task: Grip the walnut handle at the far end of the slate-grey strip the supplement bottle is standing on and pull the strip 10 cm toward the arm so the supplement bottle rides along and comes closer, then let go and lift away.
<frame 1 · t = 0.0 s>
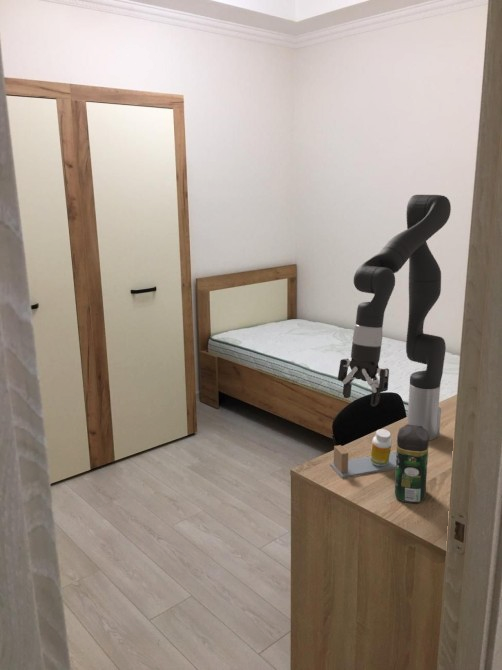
hand: (359, 401, 154), 22 cm above the table, tool pointing down, fingers open, 8 cm apart
supplement bottle: (378, 461, 167), point 1 cm above the table, touching strip
coffee jar: (409, 495, 151), on the table
strip: (377, 454, 166), point 3 cm above the table, slide at 0.0 cm, touching supplement bottle
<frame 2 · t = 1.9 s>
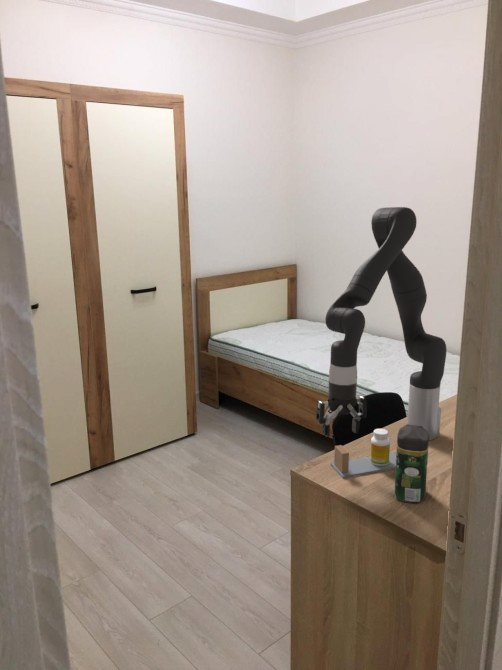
hand: (340, 434, 161), 11 cm above the table, tool pointing down, fingers open, 8 cm apart
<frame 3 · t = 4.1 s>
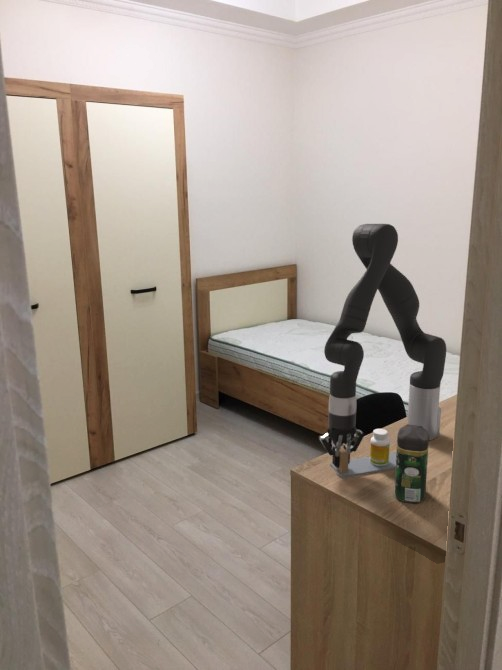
hand: (340, 465, 163), 2 cm above the table, tool pointing down, fingers closed on strip, 2 cm apart
strip: (377, 453, 166), point 3 cm above the table, slide at 0.0 cm, touching supplement bottle, gripper
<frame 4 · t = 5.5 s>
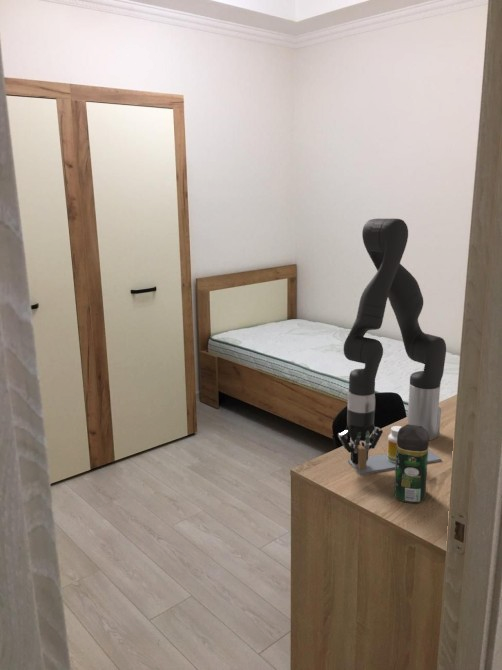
hand: (359, 462, 165), 2 cm above the table, tool pointing down, fingers closed on strip, 2 cm apart
supplement bottle: (396, 459, 168), resting on strip
strip: (395, 451, 167), point 3 cm above the table, slide at 5.7 cm, touching supplement bottle, gripper
everything else where it was.
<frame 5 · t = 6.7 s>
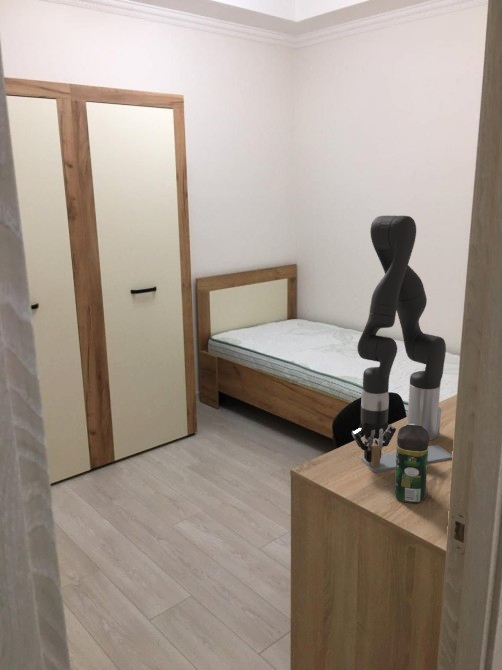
hand: (372, 460, 166), 2 cm above the table, tool pointing down, fingers closed on strip, 2 cm apart
supplement bottle: (409, 457, 169), resting on strip
strip: (408, 448, 169), point 3 cm above the table, slide at 10.0 cm, touching supplement bottle, gripper
everything else where it was.
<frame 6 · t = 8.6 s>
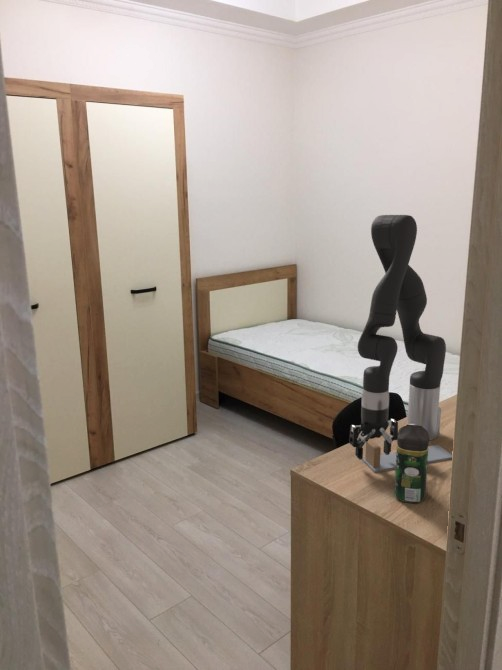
hand: (373, 456, 166), 3 cm above the table, tool pointing down, fingers open, 8 cm apart
strip: (408, 448, 169), point 3 cm above the table, slide at 10.0 cm, touching supplement bottle
everything else where it was.
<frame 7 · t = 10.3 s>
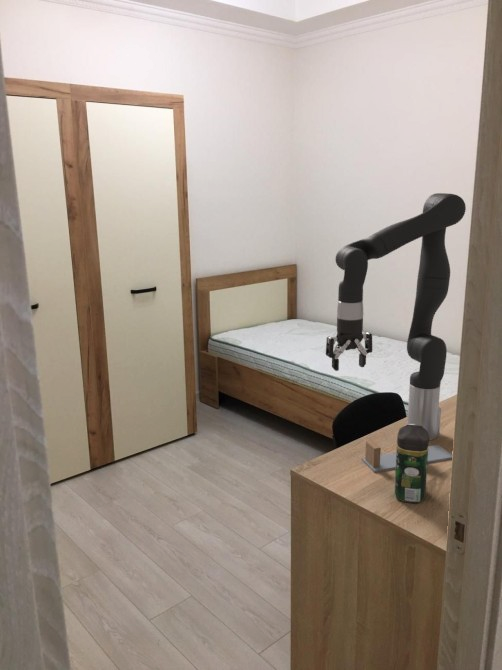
hand: (348, 368, 173), 25 cm above the table, tool pointing down, fingers open, 8 cm apart
nothing on the table moved.
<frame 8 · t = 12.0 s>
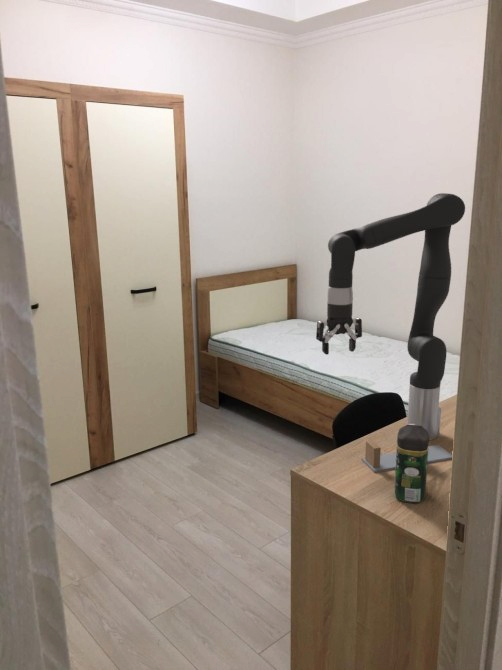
hand: (338, 352, 178), 28 cm above the table, tool pointing down, fingers open, 8 cm apart
nothing on the table moved.
at the end: strip slide at 10.0 cm; supplement bottle moved 9.6 cm from its start; supplement bottle tilted 0° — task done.
